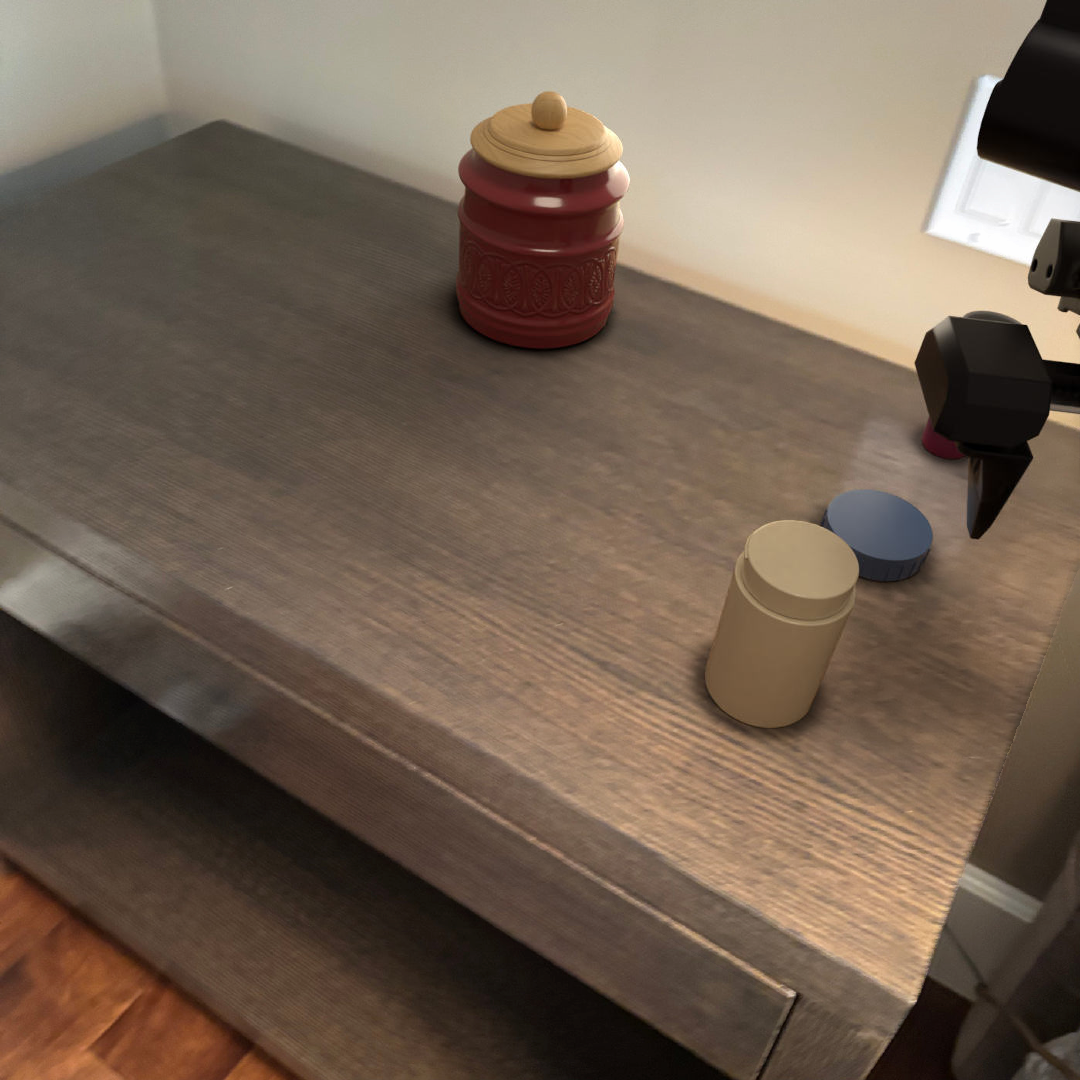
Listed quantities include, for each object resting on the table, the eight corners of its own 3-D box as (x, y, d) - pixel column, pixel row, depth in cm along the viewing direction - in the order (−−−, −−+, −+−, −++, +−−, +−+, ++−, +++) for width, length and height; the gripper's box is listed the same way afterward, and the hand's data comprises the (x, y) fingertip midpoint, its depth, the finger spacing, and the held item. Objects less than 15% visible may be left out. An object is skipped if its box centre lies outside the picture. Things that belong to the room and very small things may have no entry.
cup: (921, 418, 78) (968, 303, 71) (980, 439, 77) (1035, 323, 70) (906, 450, 75) (955, 332, 68) (969, 472, 74) (1024, 354, 67)
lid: (844, 495, 71) (851, 474, 69) (939, 540, 68) (949, 519, 67) (801, 548, 66) (808, 527, 65) (900, 598, 64) (910, 577, 63)
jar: (808, 649, 60) (857, 523, 53) (818, 735, 56) (873, 610, 49) (703, 635, 60) (739, 508, 53) (704, 720, 56) (743, 594, 49)
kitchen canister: (640, 333, 84) (676, 116, 72) (499, 367, 79) (511, 141, 67) (563, 259, 92) (583, 52, 80) (430, 286, 87) (430, 70, 75)
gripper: (1394, 181, 44) (1205, 463, 54) (955, 131, 44) (854, 420, 55) (1552, 317, 36) (1294, 617, 46) (1013, 255, 36) (881, 565, 47)
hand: (1068, 545), depth 49 cm, fingers open, 9 cm apart
